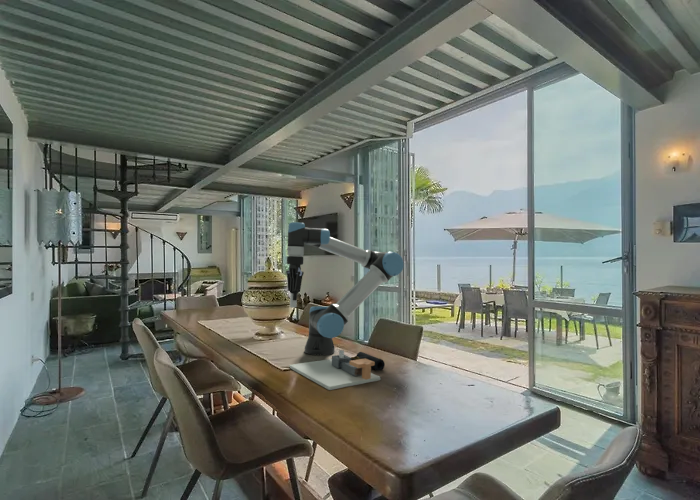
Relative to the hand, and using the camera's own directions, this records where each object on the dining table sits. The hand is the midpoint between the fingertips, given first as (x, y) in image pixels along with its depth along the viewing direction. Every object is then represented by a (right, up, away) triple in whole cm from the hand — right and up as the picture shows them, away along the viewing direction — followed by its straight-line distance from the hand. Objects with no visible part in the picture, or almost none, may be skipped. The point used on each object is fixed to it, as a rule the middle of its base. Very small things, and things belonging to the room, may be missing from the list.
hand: (293, 307), depth 176 cm
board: (+19, -25, -18) cm, 36 cm away
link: (+25, -23, -17) cm, 38 cm away
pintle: (+22, -25, -12) cm, 36 cm away
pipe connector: (+32, -26, -6) cm, 42 cm away
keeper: (+31, -25, -25) cm, 47 cm away
